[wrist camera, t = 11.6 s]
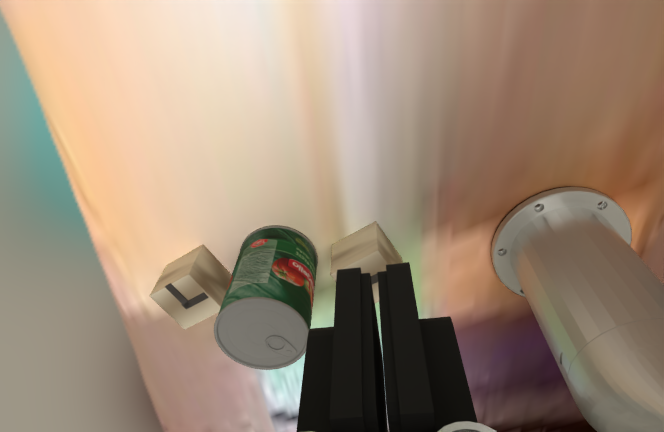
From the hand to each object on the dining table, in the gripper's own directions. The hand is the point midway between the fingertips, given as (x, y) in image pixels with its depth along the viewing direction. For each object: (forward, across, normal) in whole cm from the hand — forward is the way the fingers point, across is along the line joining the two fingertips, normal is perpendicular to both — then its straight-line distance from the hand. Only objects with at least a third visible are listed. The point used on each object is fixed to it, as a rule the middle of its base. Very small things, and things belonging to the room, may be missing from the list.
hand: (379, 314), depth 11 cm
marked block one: (+31, +2, +20) cm, 37 cm away
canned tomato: (+31, +11, +19) cm, 38 cm away
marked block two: (+31, +19, +20) cm, 42 cm away
